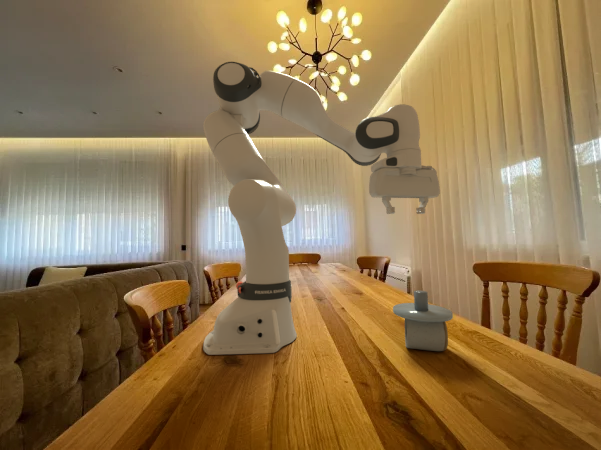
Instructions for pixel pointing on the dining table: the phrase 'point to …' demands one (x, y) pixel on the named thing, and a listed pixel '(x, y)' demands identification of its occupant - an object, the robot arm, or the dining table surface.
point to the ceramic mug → (426, 335)
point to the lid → (422, 310)
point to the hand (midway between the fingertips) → (406, 213)
